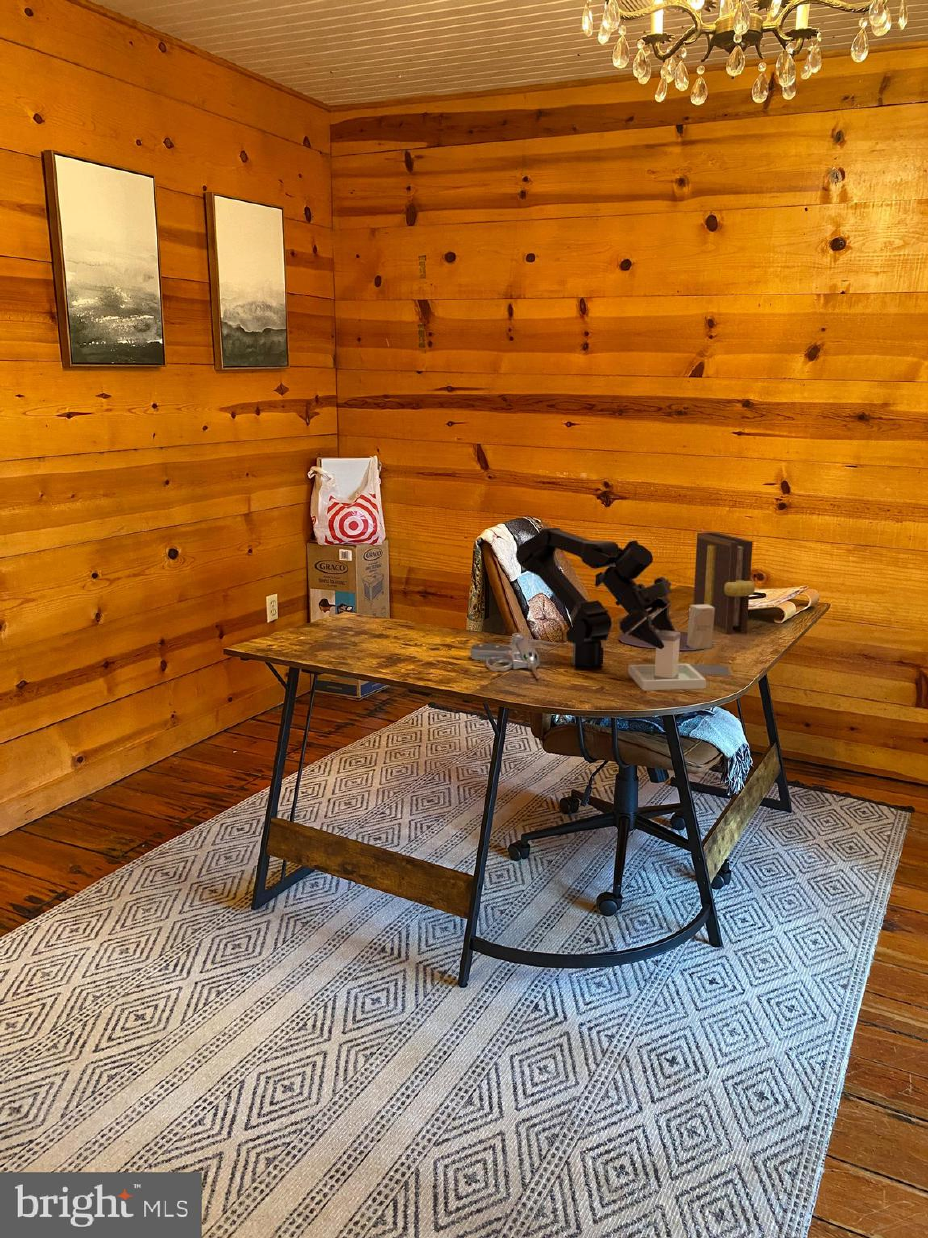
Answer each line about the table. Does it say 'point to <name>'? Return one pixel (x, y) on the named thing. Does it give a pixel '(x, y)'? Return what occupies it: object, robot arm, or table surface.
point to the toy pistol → (508, 654)
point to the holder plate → (711, 669)
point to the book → (724, 579)
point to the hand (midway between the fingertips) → (669, 643)
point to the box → (700, 626)
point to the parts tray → (686, 679)
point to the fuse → (667, 656)
